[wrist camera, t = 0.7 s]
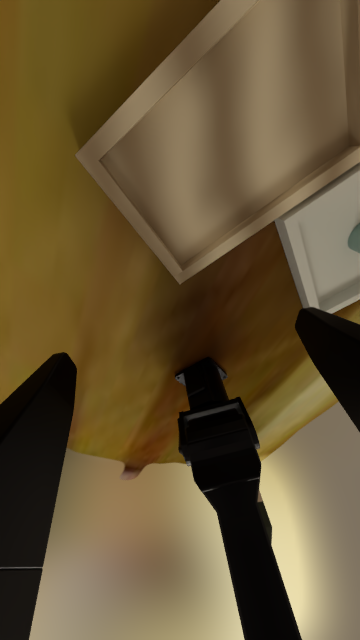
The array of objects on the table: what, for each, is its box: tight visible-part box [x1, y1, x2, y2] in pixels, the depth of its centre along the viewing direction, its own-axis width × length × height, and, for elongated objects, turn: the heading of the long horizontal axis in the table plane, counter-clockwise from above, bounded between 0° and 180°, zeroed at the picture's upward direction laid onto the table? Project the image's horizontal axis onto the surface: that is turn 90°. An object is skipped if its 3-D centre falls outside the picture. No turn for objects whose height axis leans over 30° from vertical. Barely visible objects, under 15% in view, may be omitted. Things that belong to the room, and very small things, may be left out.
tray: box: [75, 0, 360, 284], centre depth 15 cm, size 18×12×2 cm, turn 124°
